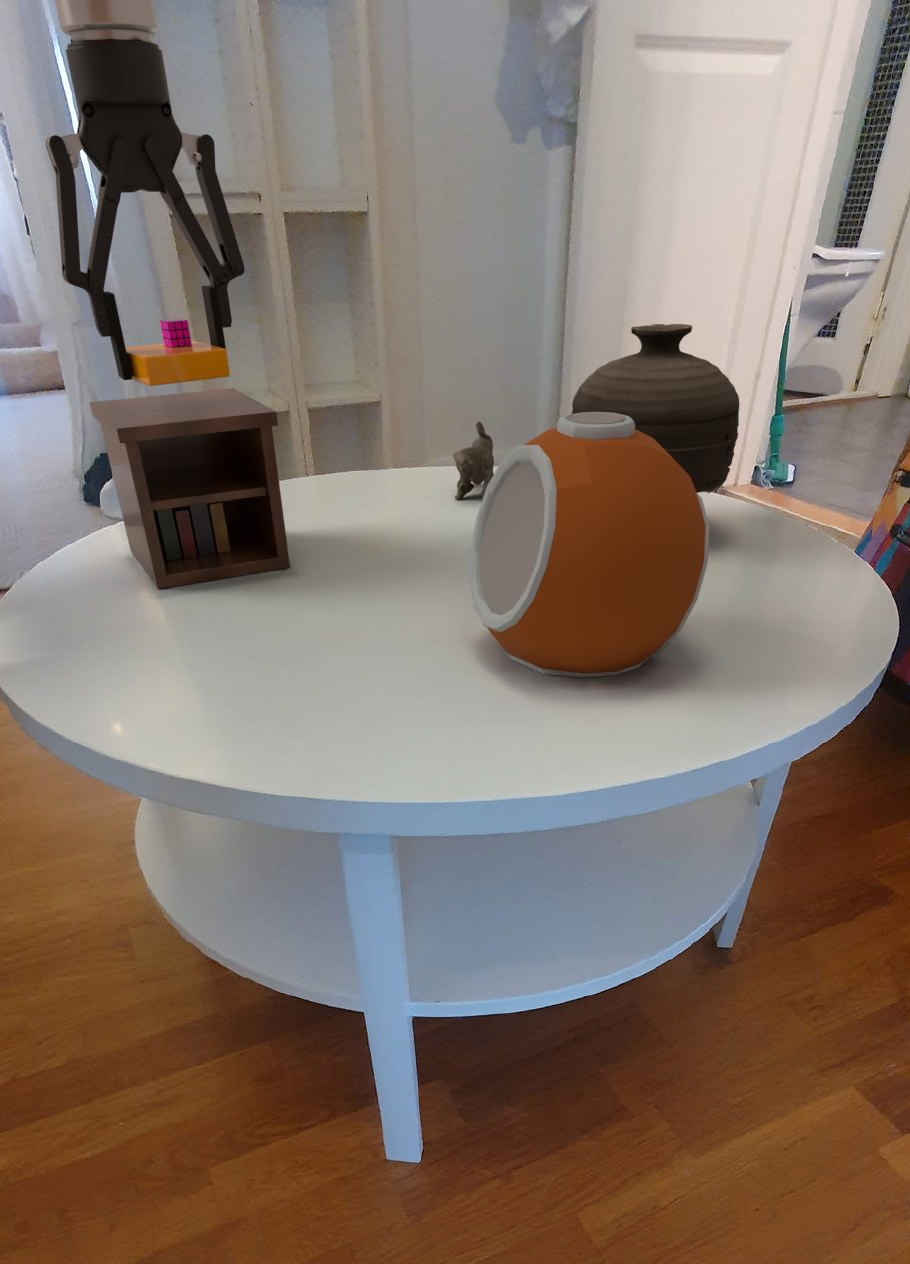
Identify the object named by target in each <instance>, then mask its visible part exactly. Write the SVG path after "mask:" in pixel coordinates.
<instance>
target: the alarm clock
mask: <svg viewBox="0 0 910 1264" xmlns="http://www.w3.org/2000/svg"><path fill="white" fill-rule="evenodd" d="M493 474H494V475H493V477H492V479H491V480H490V482H489V484H488V486H487V488H486V491H485V494H484V497H482V500H481V502H480V506H479V509H478V512H477V515H476V518H475V525H474V530H473V533H472V539H471V545H470V551H469V581H468V582H469V588H470V594H471V600H472V606H473V609H474V611H475V613H476V615H477V617H478V618H479V620H480V622H481V623H482V625H483V627H485V628H486V629H487V630H488V631H489V632H490V634H491V635H492V637H493V638H494V639H495V640H496V642H497V643H498V644H499V646H500V648H501V649H502V650H503V651H505V652H506V653H508V654H509V657H510V659H511V660H512V661H514V662H516V663H519V664H520V665H523V666H525V667H528V668H529V669H532V670H534V671H536V672H538V673H541V674H543V675H550V676H551V675H554V676H563V677H574V678H575V677H576V678H593V677H604V676H605V677H607V676H615V675H616V676H617V675H619V674H622V673H626V672H630V671H632V670H636V669H638V668H640V667H641V666H642V665H643V664H644V663H645V662H646V661H648V660H649V659H650V658H651V657H653V656H655V655H658V654H660V653H661V652H662V651H663V650H664V649H665V648H666V647H667V646H668V645H669V644H670V643H671V642H672V641H673V640H674V639H675V637H676V636H678V634H679V633H680V632H682V629H683V627H684V626H685V624H686V622H687V620H688V618H689V616H690V615H691V613H692V611H693V609H694V607H695V605H696V603H697V601H698V599H699V597H700V596H699V595H700V592H701V589H702V585H703V581H704V577H705V575H706V571H707V567H708V564H709V548H710V547H709V546H710V544H709V543H710V523H709V519H708V516H707V513H706V509H705V504H704V501H703V498H702V497H701V496H700V494H699V493H696V490H695V488H694V485H693V482H692V480H691V477H690V476H689V475H688V474H687V473H686V472H685V471H684V470H683V468H682V467H681V466H680V465H679V464H678V463H677V462H676V461H675V460H674V459H673V458H672V457H671V456H670V455H669V454H668V453H667V452H666V451H665V450H664V449H663V448H662V447H661V446H660V445H659V444H658V443H657V442H656V441H655V440H654V439H653V438H652V437H650V436H648V435H646V434H644V433H642V432H640V431H638V430H636V429H635V423H634V421H633V420H632V419H631V418H630V417H629V416H626V415H621V414H617V413H608V412H582V413H576V414H572V413H571V414H567V415H564V416H562V417H561V418H559V419H558V421H557V423H556V427H555V428H550V429H547V430H545V431H543V432H541V433H540V434H539V435H537V436H536V437H534V438H532V439H530V440H529V441H527V442H525V443H523V444H522V445H518V446H516V447H515V448H514V449H513V450H511V452H510V453H509V454H507V456H505V457H504V458H503V459H502V460H501V461H500V463H499V464H498V466H497V468H496V469H495V471H494V472H493Z"/></svg>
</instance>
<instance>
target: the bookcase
mask: <svg viewBox="0 0 910 1264" xmlns="http://www.w3.org/2000/svg"><path fill="white" fill-rule="evenodd" d="M89 407H90V410H91V414H92V417H93V418H95V419H96V420H97V422H98V423H99V424H100V428H101V432H102V437H103V441H104V444H105V449H106V453H107V457H108V462H109V465H110V471H111V475H112V478H113V482H114V487H115V491H116V495H117V499H118V502H119V507H120V511H121V516H122V520H123V524H124V528H125V533H126V537H127V540H128V545H129V549H130V552H131V554H132V555H133V557H134V558H135V559H136V561H137V562H138V564H139V565H140V566H141V568H142V569H143V571H144V572H145V574H147V576H148V578H149V579H150V580H151V582H152V583H153V585H154V586H155V587H156V589H157V590H163V589H169V588H174V587H180V586H188V585H193V584H199V583H205V582H211V581H216V580H223V579H229V578H235V577H241V576H246V575H253V574H259V573H265V572H270V571H271V572H272V571H277V570H283V569H288V568H291V562H290V556H289V554H290V553H289V547H288V539H287V532H286V524H285V517H284V516H285V515H284V509H283V502H282V494H281V486H280V478H279V470H278V463H277V456H276V454H277V453H276V447H275V439H274V432H273V427H277V426H279V420H278V412H277V411H276V410H275V409H273V408H271V407H268V406H267V405H265V404H263V403H261V402H260V401H258V400H256V399H254V398H252V397H250V396H249V395H247V394H245V393H243V392H241V391H240V390H237V389H236V388H234V387H233V388H224V389H223V388H222V389H213V390H201V391H191V392H181V393H171V394H162V395H161V394H159V395H150V396H140V397H130V398H120V399H109V400H100V401H99V400H98V401H90V402H89Z"/></svg>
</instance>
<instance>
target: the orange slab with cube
mask: <svg viewBox="0 0 910 1264" xmlns="http://www.w3.org/2000/svg"><path fill="white" fill-rule="evenodd" d="M159 325H160V329H161V330H160V331H161V334H162V335H161V336H162V340H163V343H154V344H153V343H152V344H145V345H135V346H134V345H133V346H125V347H126V352H127V357H128V362H129V366H130V371H131V376H132V380H133V381H135V382H138V383H141V384H144V385H147V386H150V387H155V386H163V385H171V384H179V383H188V382H195V381H203V380H211V379H212V380H213V379H220V378H221V379H222V378H227V377H228V378H229V377H230V376H231V373H230V366H228V365H229V359H228V360H227V358H228V353H226V352H227V348H226V349H224V348H220V347H216V346H212V345H211V344H209V343H204V342H200V341H197V340H192V339H191V333H190V327H189V320H187V319H183V318H171V319H170V318H169V319H161V320H159Z"/></svg>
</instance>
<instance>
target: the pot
mask: <svg viewBox="0 0 910 1264" xmlns="http://www.w3.org/2000/svg"><path fill="white" fill-rule="evenodd" d="M692 331H693V325H692V324H685V323H670V324H665V323H652V324H651V325H649V324H648V325H640V326H638V325H637V326H631V329H630V332H631V334H632V335H634V336H636V337H637V338H638V340H639V342H640V346H641V347H640V350H639V351H638V352H636V353H633V354H629V355H625V356H623V357H620V358H617V359H613V360H611V361H608V362H607V363H606V364H603V365H600V366H599V367H598V368H596V369H595V371H594V372H592V373H591V374H590V375H589V376H588V377H586V379H585V380H584V381H583V382H582V384H580V386H579V387H578V389H577V390H576V392H575V394H574V396H573V399H572V404H571V408H572V410H571V414H576V413H582V412H608V413H617V414H621V415H626V416H629V417H630V418H631V419H632V420H633V421H634V423H635V429H636V430H638V431H640V432H642V433H644V434H646V435H648V436H650V437H652V438H653V439H654V440H655V441H656V442H657V443H658V444H659V445H660V446H661V447H662V448H663V449H664V450H665V451H666V452H667V453H668V454H669V455H670V456H671V457H672V458H673V459H674V460H675V461H676V462H677V463H678V464H679V465H680V466H681V467H682V468H683V470H684V471H685V472H686V473H687V474H688V475H689V476H690V477H691V480H692V482H693V485H694V488H695V490H696V493H697V494H699V493H707V494H710V493H712V492H713V491H714V492H715V493H717V492H718V491H719V489H720V488H721V487H722V486H723V485H724V484H725V483H726V481H727V479H728V476H729V473H730V471H731V468H730V467H731V465H732V463H733V459H734V456H735V447H736V445H737V443H736V442H737V441H738V438H739V432H738V431H739V424H740V422H739V421H740V417H739V416H740V415H739V413H740V396H739V394H738V392H737V389H736V388H735V385H734V384H733V383H732V382H731V380H730V379H729V377H728V376H727V375H725V374H724V373H723V372H722V370H721V369H720V367H718V366H717V365H716V364H714V363H711V361H708V360H707V359H704V358H700V357H697V356H695V355H693V354H690V353H687V352H683V351H681V349H680V344H681V342H682V340H683V339H684V338H685V337H686V336H688V335H689V334H690V333H692Z"/></svg>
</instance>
